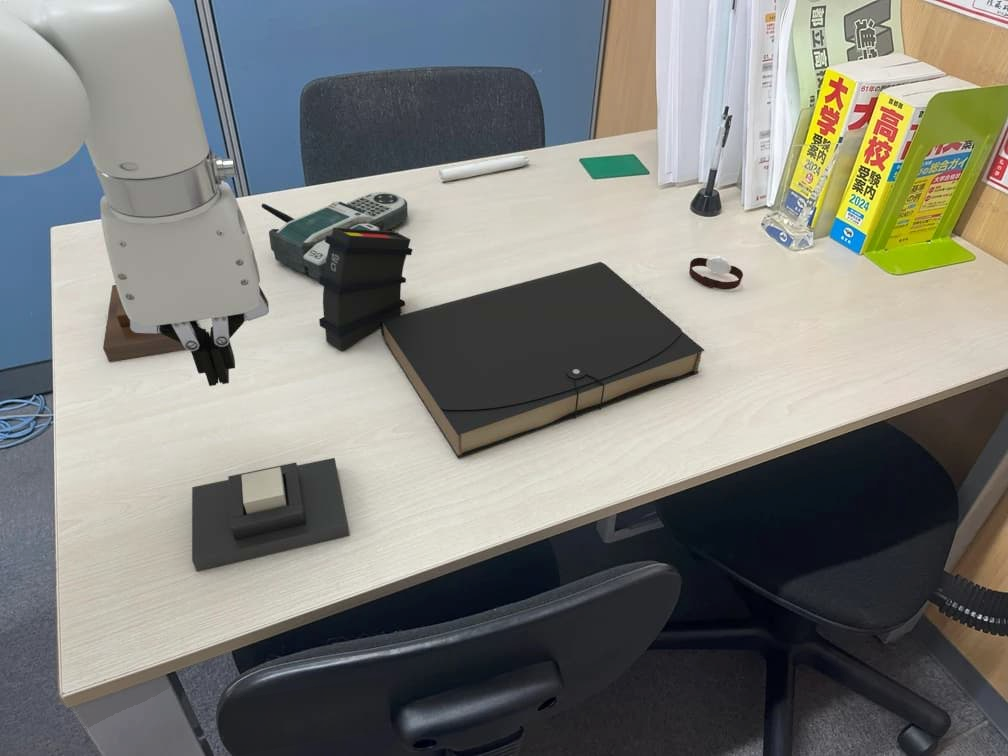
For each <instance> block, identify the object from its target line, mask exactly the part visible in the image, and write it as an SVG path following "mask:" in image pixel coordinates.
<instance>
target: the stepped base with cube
mask: <svg viewBox="0 0 1008 756" xmlns="http://www.w3.org/2000/svg"><path fill="white" fill-rule="evenodd" d="M277 467H280V468H281V472H282V476H283V481H284V489H285V497H286V505H287V506H284V507H280V508H275V509H271V510H266V511H262V512H257V513H252V514H248V515H247V513H246V510H245V507H244V504H243V491H242V475H243V474H248V473H253V472H258V471H263V470H267V469H272V468H277ZM344 537H345V538H346V537H350V529H349V523H348V519H347V514H346V509H345V503H344V498H343V493H342V487H341V483H340V477H339V473H338V468H337V462H336V458H335V457H331V458H327V459H322V460H316V461H311V462H307V463H302V464H297V462H290V463H287V464H286V463H285V464H282V465H281V464H280V465H277V466H276V465H275V466H271V467H266V468H262V469H257V470H252V471H247V472H243V473H238V474H233V475H228V477H227V479H225V480H221V481H220V480H219V481H215V482H211V483H210V482H209V483H205V484H201V485H197V486H192V487H191V562H192V564H193V567H194V569H195V571H196V572H201V571H205V570H209V569H213V568H218V567H222V566H226V565H231V564H234V563H238V562H243V561H247V560H251V559H252V560H253V559H256V558H259V557H265V556H268V555H273V554H276V553H281V552H285V551H290V550H293V549H298V548H302V547H306V546H310V545H315V544H319V543H324V542H328V541H332V540H335V539H340V538H344Z"/></svg>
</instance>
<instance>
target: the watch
mask: <svg viewBox="0 0 1008 756" xmlns="http://www.w3.org/2000/svg"><path fill="white" fill-rule="evenodd" d="M695 267H705V268H707V269H708V270H709V271H710V272H711V273H713V274H715V275H718V276H724V275H726V274H730V275H733V276H734V277H736V278H737V280H733V281H721V280H719V279H713V278H711V277H709V276H703V275H701V274H700V273H698V272H696V271H695V270H694V269H693V268H695ZM688 273H689V276H690V278H691V279H692V280H694V281H695V282H697V283H699V284H700V285H702V286H704V287H707V288H710V289H717V290H723V291H725V290H726V291H728V290H733V289H736V288H738V287H739V286H741V285H740V284H741V282H742V279H743V277H744V273H743V271H742V270H741V269H740V268H739V267H737V266H734V265H732V264H731V262H730V261H729V260H728V259H726V258H725V257H723V256H721V255H719V256H718V255H717V256H712V257H710V258H707V257H706V258H705V257H695V258H693V259H691V261H690V263H689V272H688Z"/></svg>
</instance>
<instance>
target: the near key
mask: <svg viewBox="0 0 1008 756" xmlns="http://www.w3.org/2000/svg"><path fill="white" fill-rule="evenodd" d="M242 491H243V504H244V507H245V510H246V513H247V515H248V514H252V513H257V512H262V511H266V510H271V509H275V508H280V507H284V506H287V505H286V497H285V489H284V481H283V476H282V472H281V468H280V467H277V468H272V469H267V470H263V471H258V472H253V473H248V474H243V475H242Z"/></svg>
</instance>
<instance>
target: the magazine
mask: <svg viewBox="0 0 1008 756" xmlns="http://www.w3.org/2000/svg"><path fill="white" fill-rule="evenodd" d="M325 242H326V243H328V244H329V249H328V254H327V258H326V267H325V275H323V276H320V277H319V280H318V284H319V285H321V286H323V291H322V293H323V294H322V310H323V317H321V318H319V326H320V327H321V328H322V329H324V330H325V340H326V342H327V343H328V344H329V345H331V346H333V347H334V348H336V349H338V350H339V351H345V350H346V349H348V348H349V347H351V346H352V345H354V344H357V342H359V341H361V340H362V339H364V338H365V337H367V336H369V335H371V334H372V333H374V332H375V331H377V330H380V321H381V320H384V319H388V318H391V317H395V316H399V315H402V308H403V307H405V306H406V301H405V300H404V299H402V298H401V291H402V284H404V283H406V282H407V278H406V277H405V276H403V270H404V266H405V261H406V258H407V256H411V255H412V254H413V249H412V248H410V243H411V239H410V238H409V237H407V236H405V235H403V234H400V233H398V232H396V231H390V230H387V231H378V230H364V229H350V228H336V227H334V228H333V232H332V236H326V239H325Z"/></svg>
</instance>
